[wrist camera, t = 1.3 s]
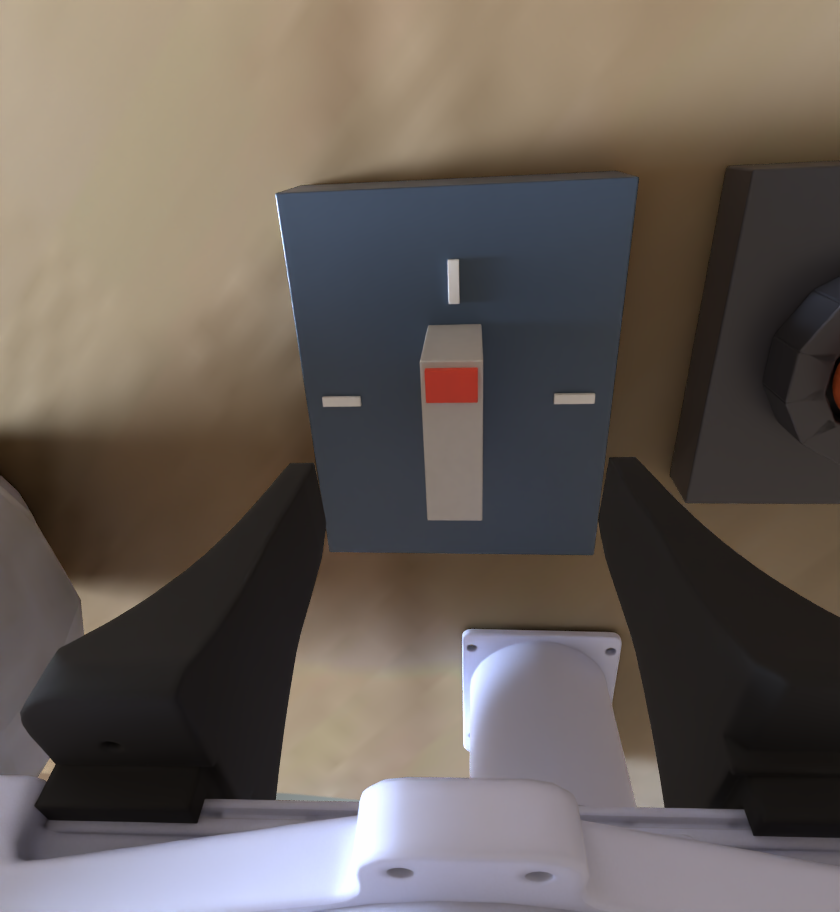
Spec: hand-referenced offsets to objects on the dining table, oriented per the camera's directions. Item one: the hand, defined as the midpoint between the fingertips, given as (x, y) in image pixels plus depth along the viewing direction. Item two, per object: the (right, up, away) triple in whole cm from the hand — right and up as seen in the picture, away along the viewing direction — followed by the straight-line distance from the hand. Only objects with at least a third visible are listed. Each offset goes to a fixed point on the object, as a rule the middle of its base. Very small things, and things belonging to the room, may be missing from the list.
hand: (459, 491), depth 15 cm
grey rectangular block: (0, +3, +6) cm, 7 cm away
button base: (+14, +5, +7) cm, 17 cm away
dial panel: (+1, +4, +9) cm, 10 cm away
